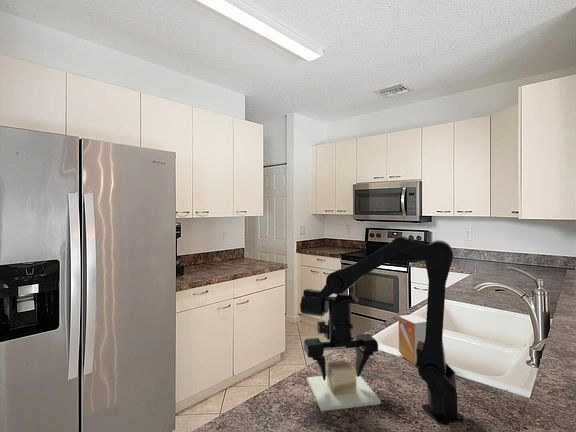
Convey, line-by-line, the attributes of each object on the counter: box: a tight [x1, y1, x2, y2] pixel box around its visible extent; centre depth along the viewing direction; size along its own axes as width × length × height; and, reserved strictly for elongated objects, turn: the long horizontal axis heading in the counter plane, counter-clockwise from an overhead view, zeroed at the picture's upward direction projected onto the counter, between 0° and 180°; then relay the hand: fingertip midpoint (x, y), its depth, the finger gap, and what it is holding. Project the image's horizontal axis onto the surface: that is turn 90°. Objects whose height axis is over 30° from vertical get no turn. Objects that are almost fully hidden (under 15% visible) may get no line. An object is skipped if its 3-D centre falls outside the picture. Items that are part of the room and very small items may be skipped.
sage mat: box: [306, 375, 382, 412], centre depth 86 cm, size 15×15×1 cm
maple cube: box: [326, 358, 356, 395], centre depth 86 cm, size 6×6×6 cm
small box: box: [398, 314, 427, 366], centre depth 105 cm, size 8×6×13 cm
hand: (341, 377), depth 86 cm, fingers open, 9 cm apart
